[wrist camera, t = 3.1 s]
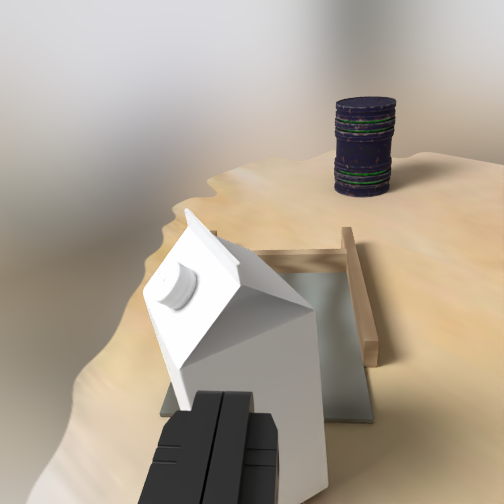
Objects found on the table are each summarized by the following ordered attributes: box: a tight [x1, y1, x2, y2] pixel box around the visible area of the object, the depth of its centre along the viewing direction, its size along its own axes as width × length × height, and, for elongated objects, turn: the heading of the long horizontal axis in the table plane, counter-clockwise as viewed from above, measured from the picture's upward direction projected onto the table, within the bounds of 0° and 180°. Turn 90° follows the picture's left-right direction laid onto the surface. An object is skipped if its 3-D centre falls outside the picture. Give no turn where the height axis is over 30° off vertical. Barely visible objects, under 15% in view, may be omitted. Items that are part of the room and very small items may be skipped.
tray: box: [160, 227, 379, 423], centre depth 45 cm, size 19×29×3 cm
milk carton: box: [143, 208, 328, 504], centre depth 25 cm, size 7×7×19 cm
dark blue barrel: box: [334, 97, 396, 197], centre depth 73 cm, size 10×10×15 cm
